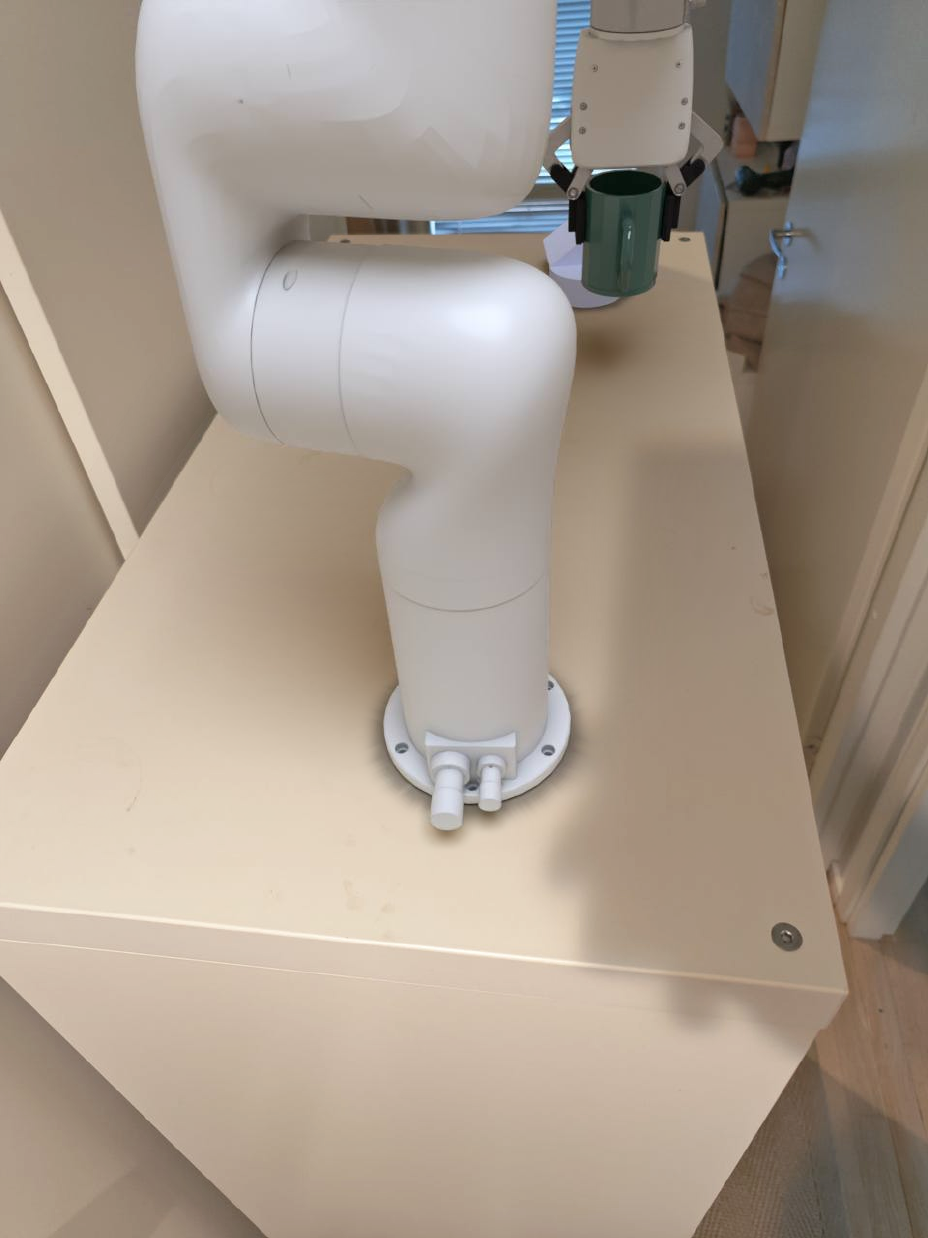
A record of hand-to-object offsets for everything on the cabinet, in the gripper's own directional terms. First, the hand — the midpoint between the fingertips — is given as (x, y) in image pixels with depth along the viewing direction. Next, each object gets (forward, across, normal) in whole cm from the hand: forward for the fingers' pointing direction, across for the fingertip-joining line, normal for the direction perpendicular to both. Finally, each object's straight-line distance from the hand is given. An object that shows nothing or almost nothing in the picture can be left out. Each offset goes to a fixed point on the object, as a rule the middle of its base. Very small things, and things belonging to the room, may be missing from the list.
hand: (621, 236), depth 80 cm
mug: (+4, 0, +1) cm, 4 cm away
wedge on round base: (+15, +2, -23) cm, 28 cm away
